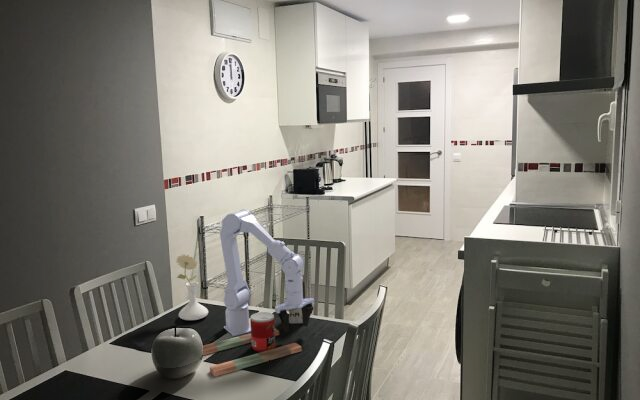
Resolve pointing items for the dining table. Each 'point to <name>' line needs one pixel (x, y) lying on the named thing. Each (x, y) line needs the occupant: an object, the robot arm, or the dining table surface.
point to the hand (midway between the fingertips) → (295, 328)
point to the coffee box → (296, 313)
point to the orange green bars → (247, 360)
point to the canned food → (262, 331)
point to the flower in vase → (190, 292)
